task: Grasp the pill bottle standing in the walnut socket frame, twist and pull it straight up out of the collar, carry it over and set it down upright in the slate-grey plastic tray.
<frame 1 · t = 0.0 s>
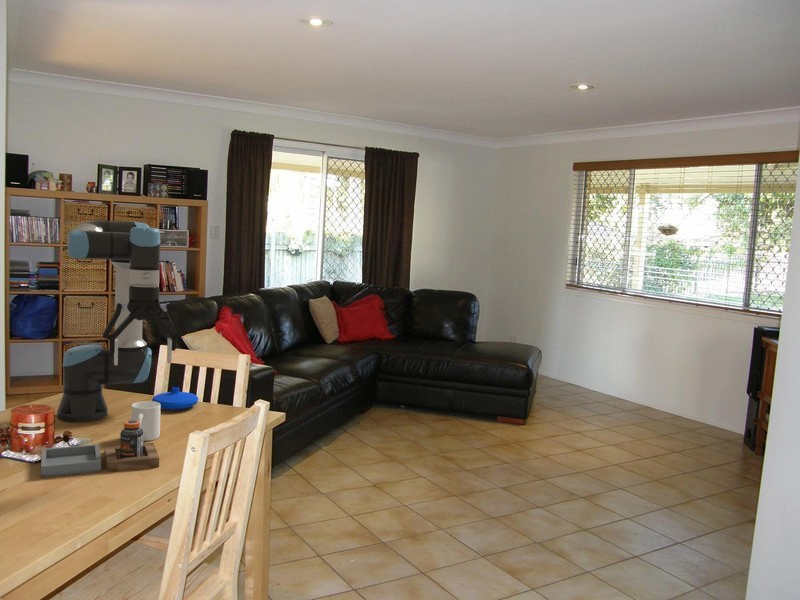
hand: (142, 363, 184), 28 cm above the table, fingers open, 13 cm apart
socket frame: (131, 461, 188), on the table
mug: (143, 440, 207), on the table
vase: (175, 407, 242), on the table
pill bottle: (131, 461, 188), resting in socket frame
tray: (71, 465, 183), on the table
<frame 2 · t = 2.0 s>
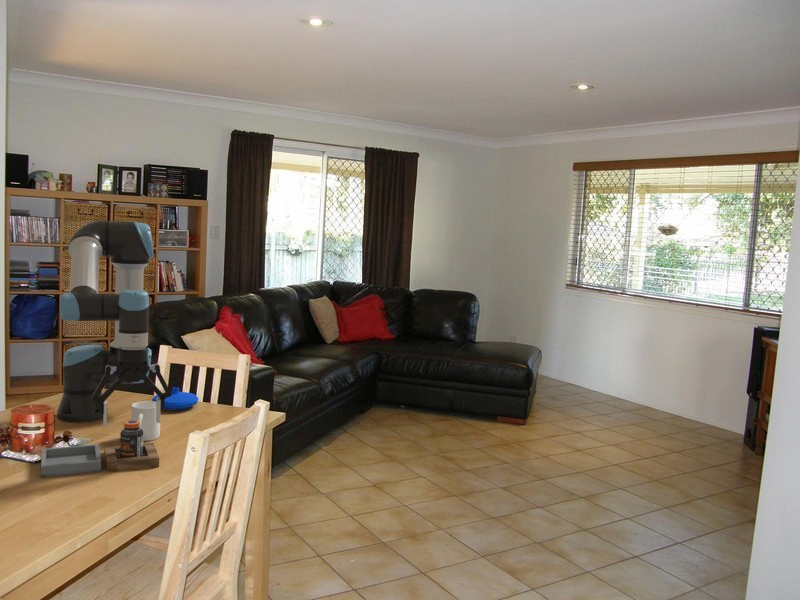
hand: (132, 423, 187), 11 cm above the table, fingers open, 13 cm apart
nothing on the table moved.
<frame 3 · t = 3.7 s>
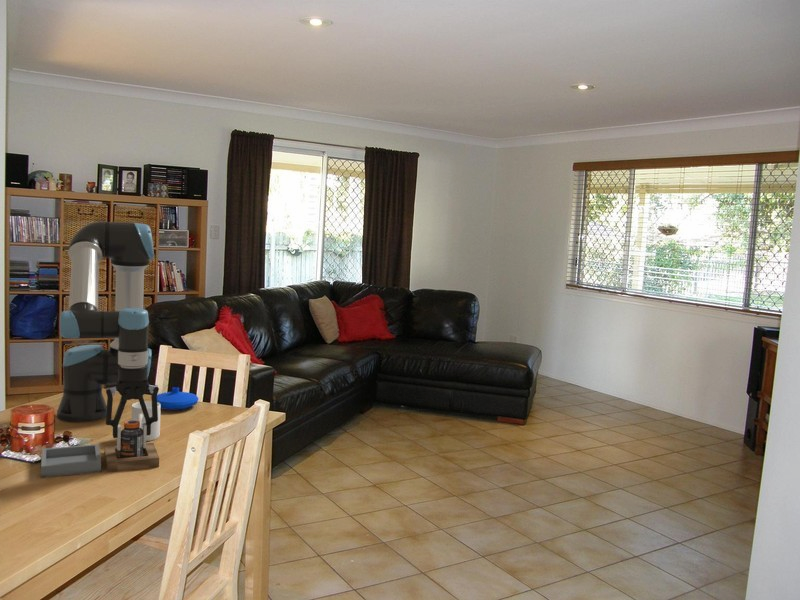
hand: (131, 447, 188), 4 cm above the table, fingers closed on pill bottle, 6 cm apart
pill bottle: (131, 461, 188), resting in socket frame, touching gripper
everything else where it was.
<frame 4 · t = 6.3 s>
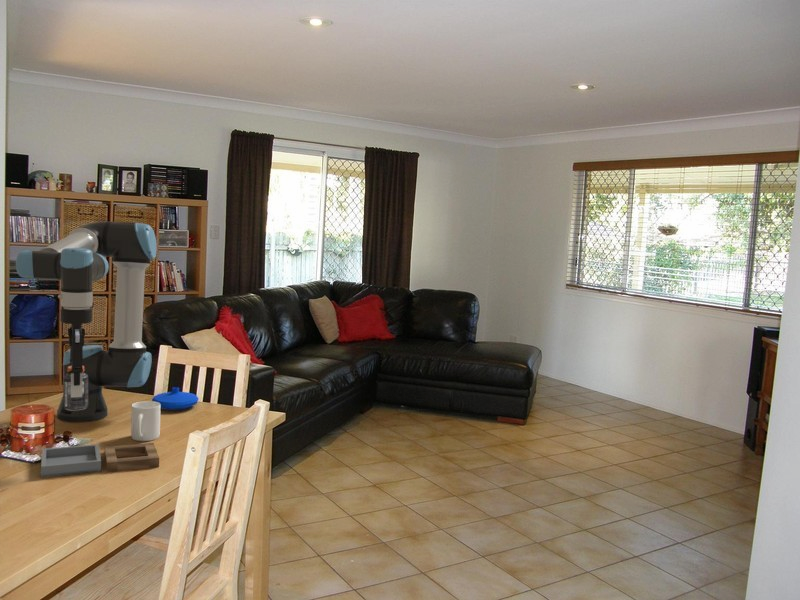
hand: (76, 393, 181), 20 cm above the table, fingers closed on pill bottle, 6 cm apart
pill bottle: (75, 408, 181), point 16 cm above the table, touching gripper
everything else where it was.
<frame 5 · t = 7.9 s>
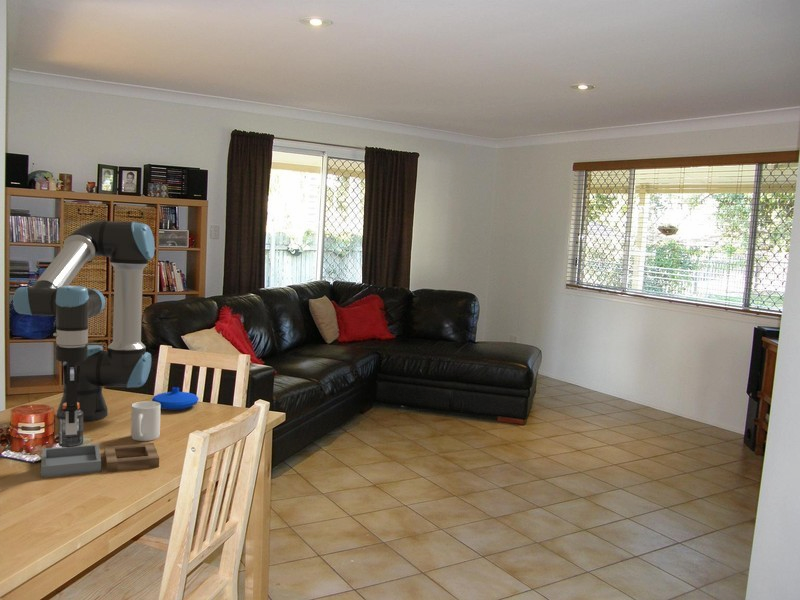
hand: (71, 430, 181), 10 cm above the table, fingers closed on pill bottle, 6 cm apart
pill bottle: (70, 445, 182), point 6 cm above the table, touching gripper
everything else where it was.
when the fingers open (6 cm above the table, at t = 9.2 s): pill bottle drops 2 cm, resting on tray.
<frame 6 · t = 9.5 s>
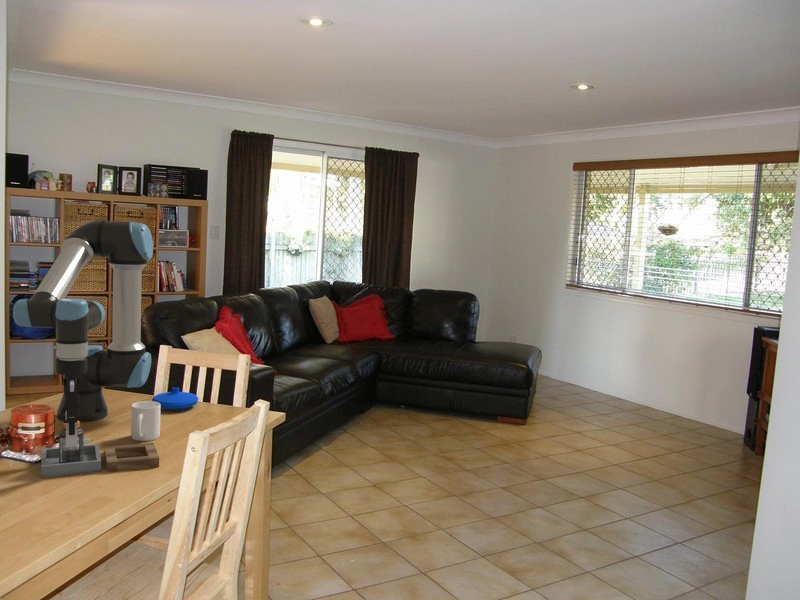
hand: (71, 440, 182), 7 cm above the table, fingers open, 9 cm apart
pill bottle: (71, 463, 182), point 1 cm above the table, touching tray
everything else where it was.
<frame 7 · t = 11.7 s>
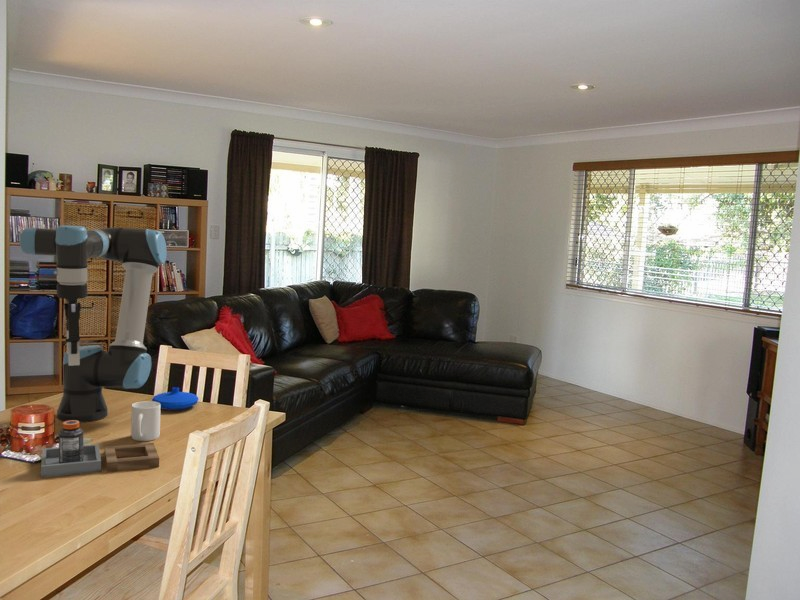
hand: (73, 359, 188), 27 cm above the table, fingers open, 13 cm apart
nothing on the table moved.
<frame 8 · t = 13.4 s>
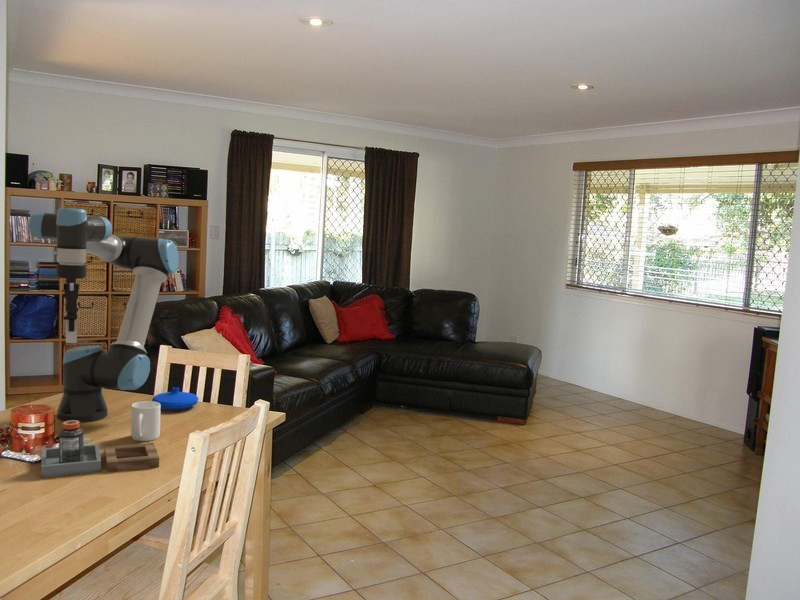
hand: (71, 338, 193), 32 cm above the table, fingers open, 13 cm apart
nothing on the table moved.
at the end: pill bottle inside the target area on the tray (0.1 cm from its centre), point 0.6 cm above the tray's base; pill bottle tilted 0°; the gripper is holding nothing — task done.
